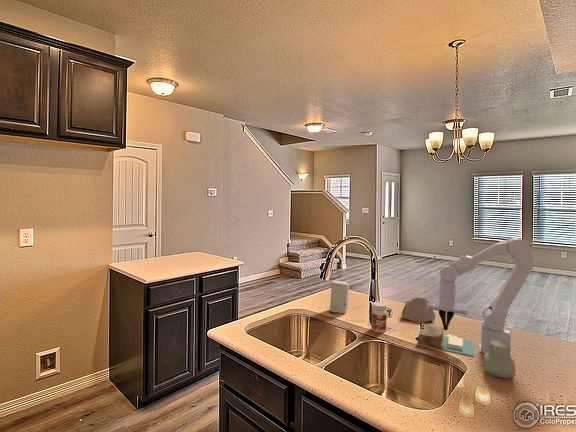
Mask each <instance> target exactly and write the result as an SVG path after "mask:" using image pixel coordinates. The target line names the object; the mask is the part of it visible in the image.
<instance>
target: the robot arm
mask: <svg viewBox="0 0 576 432" xmlns="http://www.w3.org/2000/svg"><path fill="white" fill-rule="evenodd" d="M532 253H533V250H532V248H531V247H530V244H529V243H528V242H527V241H526V240H524V239H521V238H520V237H518V236H510V237H508V238H507V239H504V240H501V241H498V242H496V243H494V244H492V245H490V246H488V247H487V248H485V249H483V250H482V251H479V252H477V253H476V254H474V255H472V256H470V255H465V256H464V255H460V256H459V259H456V260H455V261H453V262H451V261H449V262H448V264H446V265H443V266H442V267H441V268H440V271H439V275H440V280H439V281H440V282H439V292H438V293H439V295H438V303H427V309H433V311H438V315H439V318H440V319H441V323H442V326H443V327H442V328H443V331H448V329H449V325H450V322H451V321H452V319H453V318H454V315H455V314H460V315H464V316H468V309H467V308H463V307H458V306H456V288H457V287H456V279H457V278H458V277H461V276H463V275H465V274H467V273H469V272H472V271H473V270H475V269H476V268H477V265H478V264H480V263H482V262H484V261H487V260H489V259H491V258H494V257H496V256H509V255H510V256H511V258H512V260H513V262H514V267H513V268H512V270H511V272H510V273H509V275H508V277H507V279H506V280H505V283H504V284H503V286H502V287H501V289H500V291H499V293H497V296H496V298H495V299H494V301H492V302H491V303H490V304H489V306H488V307H486V308H485V309H483V311H482V315H481V316H482V318H483V319H484V321H483V323H481V332H480V334H481V335H480V337H481V338H480V342H479V344H478V347H479V348H478V349H479V352H480V353H482V354H485V353H488V352H489V345H490V342H491V341H494V340H495V341H502V342H505V343H507V344H509V345H510V346H511V341H512V339H511V337H512V336H511V335H512V334H511V331H510V330H507V329H505V326H506V318H507V317H508V313H509V309H510V307H511V305H512V304H513V302H514V301H515V299H516V298H517V295H518V294H519V292H520V290H521V288H522V287H523V285H524V284H525V282H526V280H527V279H528V277H529V275H530V274H531V272H532V271H533V268H534V261H533V260H534V259H533V255H532Z"/></svg>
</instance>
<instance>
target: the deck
mask: <svg viewBox="0 0 576 432" xmlns="http://www.w3.org/2000/svg"><path fill="white" fill-rule="evenodd" d="M422 325H424V327H425V328H424V329H421V328H420V331H419V334H418V345H421V344H423V345H422V346H425V345H426V346H425V347H431V348H436V349H440V350H442V347H443V341H444V328H443V327H440V326H435V325H434V326H433V325H428V324H422Z"/></svg>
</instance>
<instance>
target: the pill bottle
mask: <svg viewBox="0 0 576 432" xmlns="http://www.w3.org/2000/svg"><path fill="white" fill-rule="evenodd" d="M387 315H388V313H387V304H385V303H383V302H374V303H373V309H372V311H371V330H372V331H374V332H375V333H385V332H386V331H387Z"/></svg>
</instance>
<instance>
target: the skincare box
mask: <svg viewBox="0 0 576 432" xmlns="http://www.w3.org/2000/svg"><path fill="white" fill-rule="evenodd" d="M330 291H331V292H330V303H329V312H331V313H337V312H338V313H340V314H344V315H345V314H346V313H347V312H348V310H349V309H348V307H349V295H350V293H349V291H350V282H347V281H343V280H333V281H332V282H331V290H330ZM338 313H337V314H338Z"/></svg>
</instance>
